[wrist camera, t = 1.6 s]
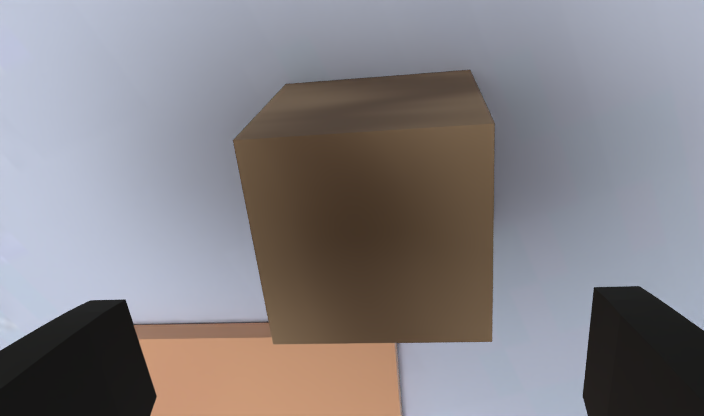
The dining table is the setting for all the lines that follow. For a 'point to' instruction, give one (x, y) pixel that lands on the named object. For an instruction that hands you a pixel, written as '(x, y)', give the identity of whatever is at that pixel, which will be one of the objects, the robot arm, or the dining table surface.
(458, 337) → the walnut block
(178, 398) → the terracotta tile
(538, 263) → the dining table surface
